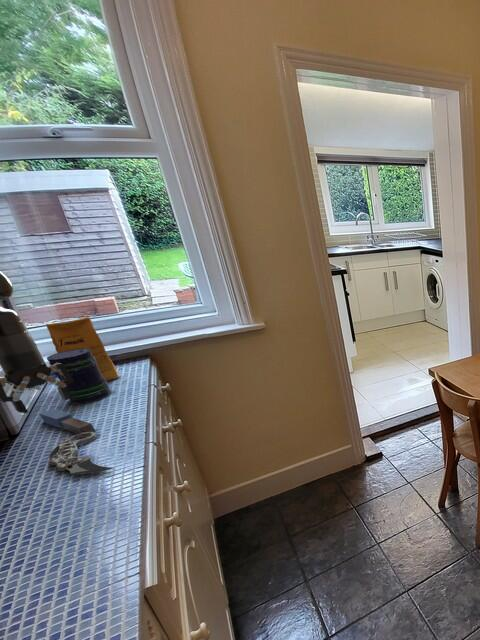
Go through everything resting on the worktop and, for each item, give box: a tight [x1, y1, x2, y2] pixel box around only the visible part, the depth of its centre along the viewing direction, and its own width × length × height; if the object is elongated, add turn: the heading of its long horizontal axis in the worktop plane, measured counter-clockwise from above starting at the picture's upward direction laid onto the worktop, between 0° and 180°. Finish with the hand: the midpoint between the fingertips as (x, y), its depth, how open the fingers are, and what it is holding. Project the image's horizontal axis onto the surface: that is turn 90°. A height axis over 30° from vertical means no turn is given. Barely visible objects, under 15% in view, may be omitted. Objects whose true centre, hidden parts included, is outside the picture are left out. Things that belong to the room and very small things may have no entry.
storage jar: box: [46, 348, 112, 405], centre depth 129 cm, size 10×10×15 cm
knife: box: [47, 432, 114, 475], centre depth 99 cm, size 28×2×10 cm
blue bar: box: [38, 408, 73, 430], centre depth 116 cm, size 10×3×3 cm, turn 66°
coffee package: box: [45, 316, 119, 383], centre depth 140 cm, size 10×12×22 cm
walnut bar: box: [61, 417, 96, 434], centre depth 111 cm, size 10×2×2 cm, turn 66°
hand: (46, 406), depth 113 cm, fingers open, 8 cm apart
